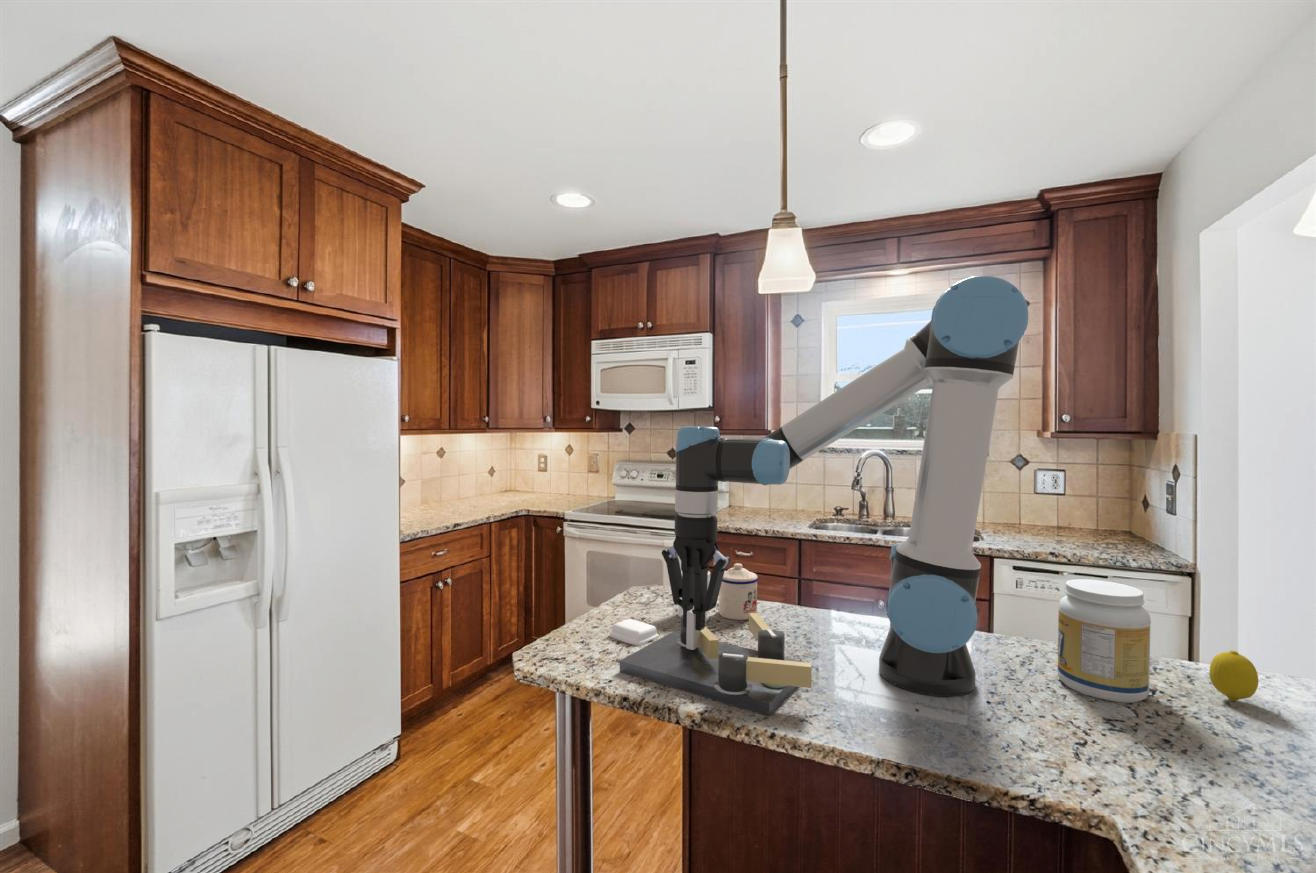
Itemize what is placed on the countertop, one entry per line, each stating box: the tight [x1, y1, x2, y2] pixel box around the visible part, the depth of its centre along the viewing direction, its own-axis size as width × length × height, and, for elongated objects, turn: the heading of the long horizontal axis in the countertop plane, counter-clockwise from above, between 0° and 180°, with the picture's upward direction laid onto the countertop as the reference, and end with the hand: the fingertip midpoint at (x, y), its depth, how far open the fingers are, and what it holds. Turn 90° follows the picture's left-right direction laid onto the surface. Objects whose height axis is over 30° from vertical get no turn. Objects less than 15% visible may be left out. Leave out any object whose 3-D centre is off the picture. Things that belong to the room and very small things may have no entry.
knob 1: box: [679, 615, 719, 659], centre depth 107 cm, size 14×5×5 cm, turn 14°
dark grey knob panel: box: [619, 630, 810, 717], centre depth 102 cm, size 28×19×2 cm
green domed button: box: [763, 683, 787, 688], centre depth 94 cm, size 4×4×1 cm
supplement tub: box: [1056, 578, 1152, 703], centre depth 97 cm, size 12×12×17 cm
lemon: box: [1209, 650, 1259, 702], centre depth 93 cm, size 6×6×8 cm
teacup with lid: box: [718, 562, 759, 621], centre depth 136 cm, size 12×9×12 cm
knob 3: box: [718, 651, 812, 691], centre depth 92 cm, size 14×5×5 cm, turn 76°
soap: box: [609, 618, 660, 647], centre depth 120 cm, size 9×7×3 cm
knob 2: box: [748, 612, 786, 660], centre depth 108 cm, size 14×5×5 cm, turn 6°
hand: (693, 646), depth 104 cm, fingers closed
